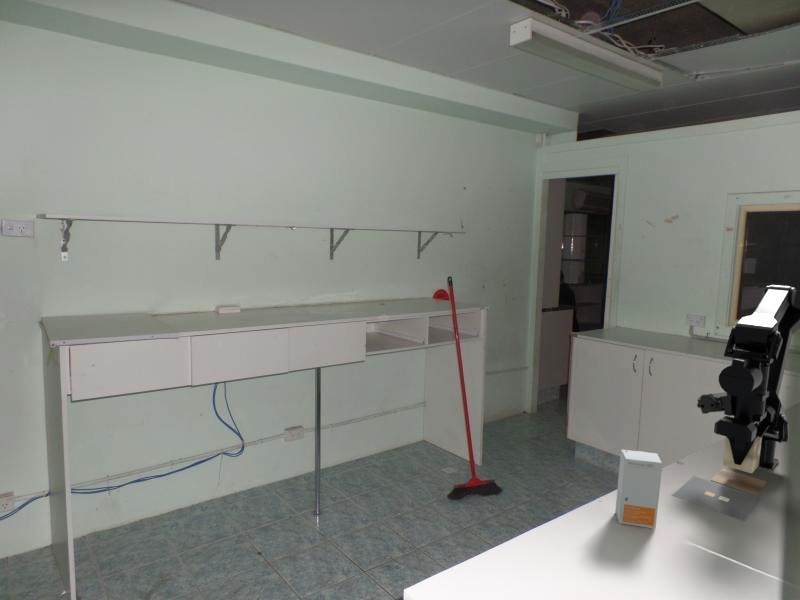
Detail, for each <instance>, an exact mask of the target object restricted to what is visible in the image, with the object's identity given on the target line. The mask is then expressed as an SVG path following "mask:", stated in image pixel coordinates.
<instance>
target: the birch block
mask: <svg viewBox="0 0 800 600" xmlns="http://www.w3.org/2000/svg"><path fill="white" fill-rule="evenodd" d="M761 441H762V437H758V438H757V440H756V441H755V443H754V444H753V446H752V448H751V449H750V451H749V453H748V454H747V456H746V457H745V459H744V461H743V462H742V464H741V465H737V464H735V463H734V460H733V455H732V451H731V446H730V442H729V439H728V438H727V437H726V436H725V443H724V451H723V452H724V454H723V460H722V461H723V463H722V465H723V466H725V467H728V468H732V469H736V470H739V471H741V472H746V473H749V474H753V473H754V472H755V470H757V469H758V467H759V458H760V450H761Z"/></svg>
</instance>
